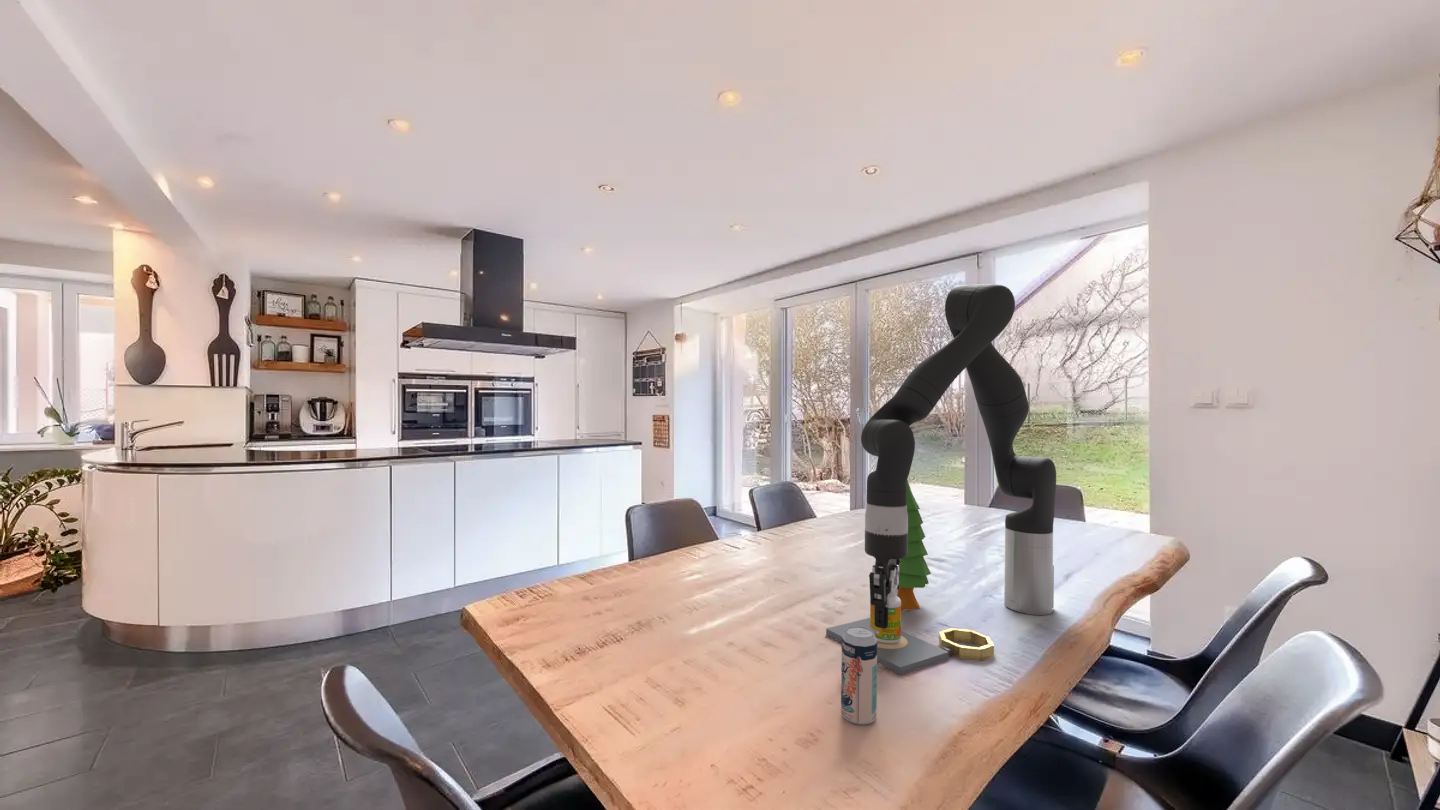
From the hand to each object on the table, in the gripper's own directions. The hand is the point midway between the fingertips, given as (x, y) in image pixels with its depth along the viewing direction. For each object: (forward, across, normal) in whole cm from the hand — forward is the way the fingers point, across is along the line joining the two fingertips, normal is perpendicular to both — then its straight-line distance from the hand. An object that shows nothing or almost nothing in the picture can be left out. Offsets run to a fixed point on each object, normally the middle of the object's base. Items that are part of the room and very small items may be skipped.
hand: (885, 621), depth 100 cm
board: (+5, 0, 0) cm, 5 cm away
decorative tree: (+5, +25, +1) cm, 25 cm away
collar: (+5, +6, -13) cm, 15 cm away
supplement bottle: (+3, 0, 0) cm, 3 cm away
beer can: (+5, -26, -2) cm, 26 cm away
